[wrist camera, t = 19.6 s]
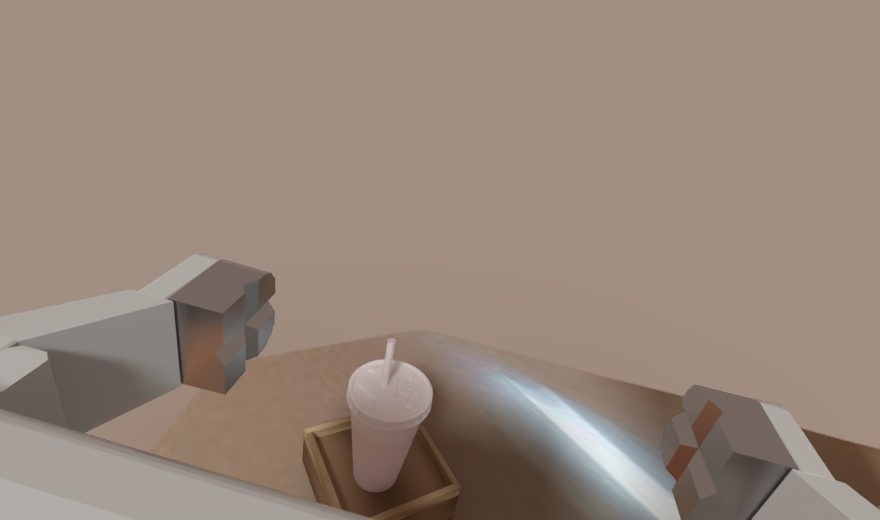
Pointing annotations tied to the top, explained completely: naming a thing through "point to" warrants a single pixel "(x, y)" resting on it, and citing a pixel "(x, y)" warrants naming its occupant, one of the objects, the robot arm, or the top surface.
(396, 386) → the smoothie
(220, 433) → the top surface
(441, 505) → the wooden tray
